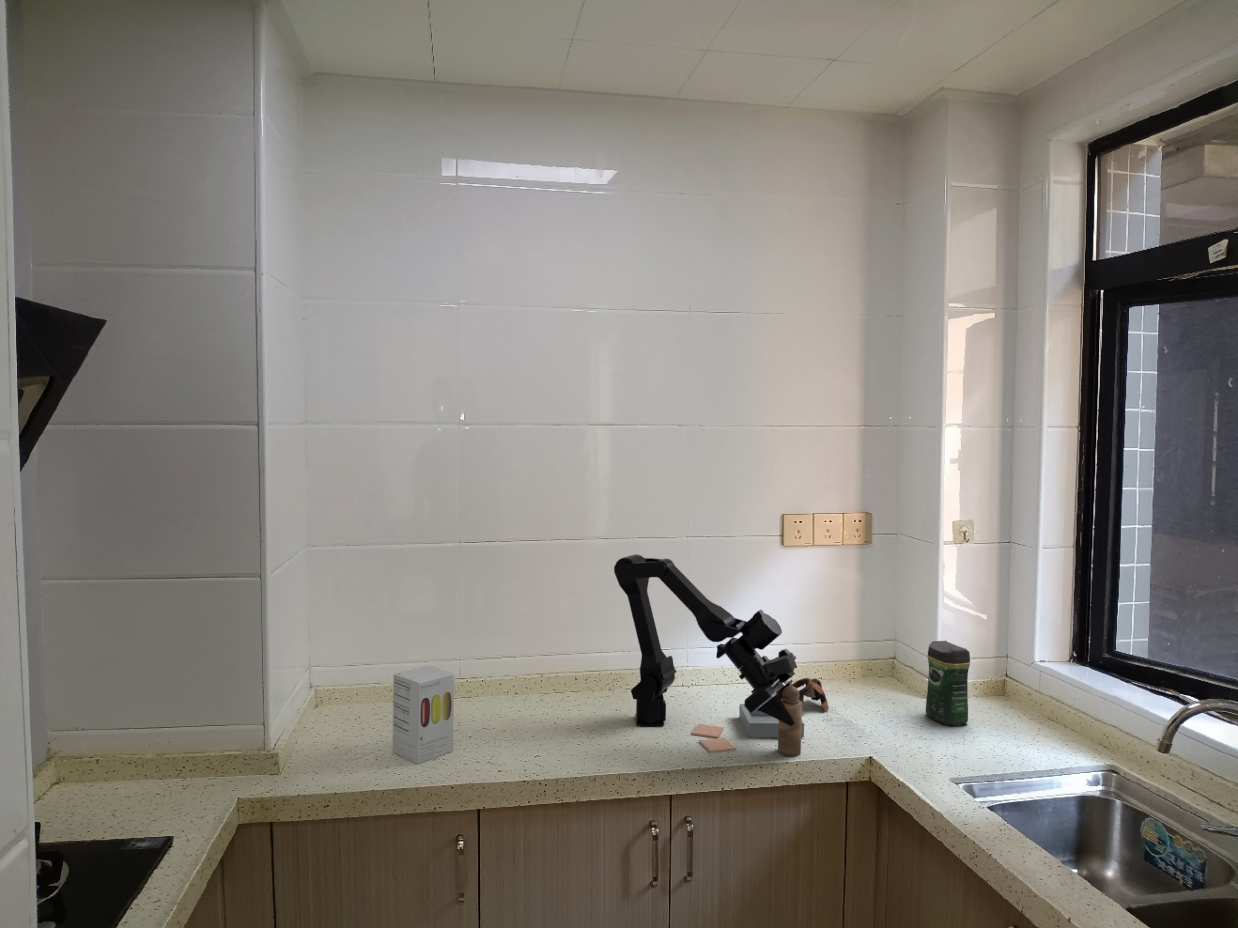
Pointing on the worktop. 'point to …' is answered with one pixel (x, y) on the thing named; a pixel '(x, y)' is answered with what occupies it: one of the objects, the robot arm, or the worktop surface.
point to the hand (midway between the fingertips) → (796, 720)
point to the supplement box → (423, 713)
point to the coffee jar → (948, 683)
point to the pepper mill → (792, 734)
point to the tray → (760, 723)
